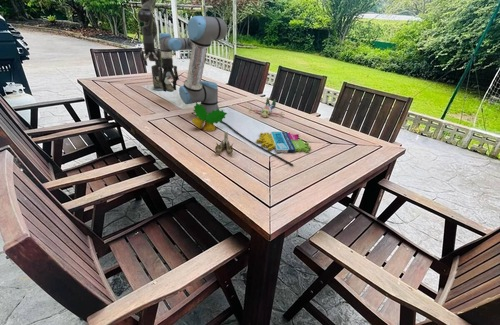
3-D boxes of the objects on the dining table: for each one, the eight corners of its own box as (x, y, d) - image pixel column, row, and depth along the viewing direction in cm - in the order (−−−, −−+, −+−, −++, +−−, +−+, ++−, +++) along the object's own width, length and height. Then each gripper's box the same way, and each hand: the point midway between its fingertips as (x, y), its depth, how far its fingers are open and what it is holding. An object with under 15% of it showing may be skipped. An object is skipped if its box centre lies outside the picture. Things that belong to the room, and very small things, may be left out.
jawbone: (234, 135, 144) (233, 125, 135) (233, 160, 138) (232, 151, 129) (217, 135, 144) (216, 125, 135) (216, 160, 138) (214, 150, 129)
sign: (313, 150, 142) (258, 149, 139) (312, 153, 143) (258, 152, 140) (301, 132, 164) (254, 130, 161) (301, 134, 165) (254, 133, 162)
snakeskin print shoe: (166, 93, 189) (165, 79, 185) (150, 86, 204) (148, 73, 199) (176, 91, 195) (175, 78, 190) (160, 84, 209) (158, 72, 205)
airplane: (146, 75, 285) (145, 65, 280) (175, 73, 298) (174, 64, 293) (152, 84, 257) (151, 73, 252) (184, 82, 270) (183, 72, 265)
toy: (288, 100, 208) (284, 110, 182) (287, 109, 211) (283, 120, 186) (254, 96, 213) (245, 105, 187) (254, 104, 216) (245, 115, 190)
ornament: (218, 133, 171) (224, 110, 169) (221, 134, 163) (227, 111, 161) (186, 125, 162) (192, 101, 160) (189, 126, 155) (195, 101, 153)
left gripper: (155, 41, 198) (157, 63, 207) (136, 41, 189) (140, 65, 198) (160, 42, 194) (162, 65, 202) (141, 43, 185) (145, 66, 193)
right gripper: (176, 56, 191) (179, 87, 202) (150, 57, 178) (154, 91, 189) (182, 57, 187) (184, 89, 198) (155, 59, 174) (159, 93, 185)
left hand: (151, 65), depth 200 cm, fingers open, 8 cm apart
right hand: (169, 90), depth 194 cm, fingers closed on snakeskin print shoe, 7 cm apart
